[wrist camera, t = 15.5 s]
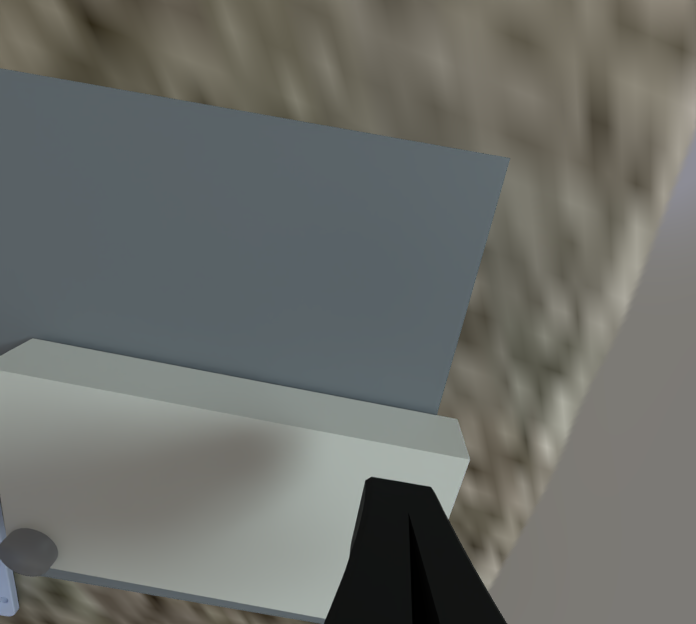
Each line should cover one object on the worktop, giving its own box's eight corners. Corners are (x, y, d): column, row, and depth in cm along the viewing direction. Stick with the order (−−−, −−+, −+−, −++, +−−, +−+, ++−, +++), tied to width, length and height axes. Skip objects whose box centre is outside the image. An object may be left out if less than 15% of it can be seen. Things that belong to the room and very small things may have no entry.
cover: (403, 581, 17) (407, 645, 15) (50, 515, 17) (1, 571, 15) (457, 418, 14) (472, 469, 12) (32, 338, 14) (-33, 373, 12)
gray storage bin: (374, 552, 22) (374, 632, 19) (77, 501, 22) (17, 571, 19) (476, 156, 15) (509, 158, 11) (37, 79, 15) (-74, 55, 11)
